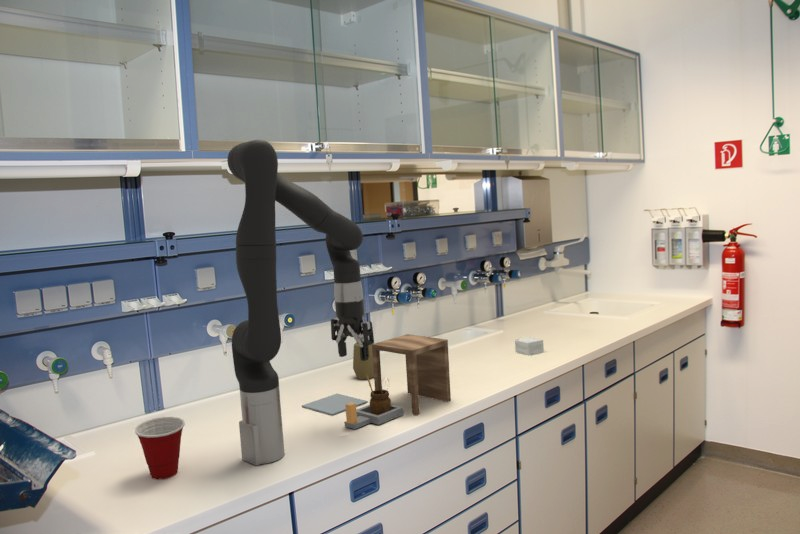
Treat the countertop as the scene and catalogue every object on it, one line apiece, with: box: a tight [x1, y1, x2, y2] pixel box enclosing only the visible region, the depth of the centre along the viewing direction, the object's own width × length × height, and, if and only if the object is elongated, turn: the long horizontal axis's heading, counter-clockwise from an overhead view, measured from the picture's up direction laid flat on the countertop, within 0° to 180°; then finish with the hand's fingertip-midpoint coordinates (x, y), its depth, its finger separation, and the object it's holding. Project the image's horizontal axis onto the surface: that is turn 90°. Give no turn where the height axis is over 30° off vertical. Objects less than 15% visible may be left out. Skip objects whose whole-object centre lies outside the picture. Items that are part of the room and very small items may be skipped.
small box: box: [514, 336, 545, 357], centre depth 237 cm, size 8×8×5 cm
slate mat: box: [301, 393, 369, 417], centre depth 187 cm, size 14×14×1 cm
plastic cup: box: [134, 416, 186, 480], centre depth 143 cm, size 11×11×12 cm
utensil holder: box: [366, 375, 392, 415], centre depth 174 cm, size 6×6×12 cm
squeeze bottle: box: [352, 333, 374, 380], centre depth 215 cm, size 8×8×18 cm
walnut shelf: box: [372, 333, 452, 416], centre depth 183 cm, size 16×16×18 cm
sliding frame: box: [344, 403, 405, 430], centre depth 171 cm, size 16×10×6 cm, turn 137°
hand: (353, 358), depth 166 cm, fingers open, 8 cm apart
